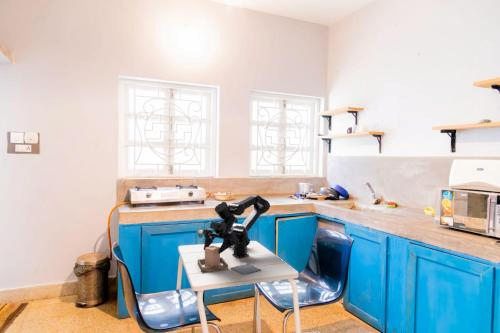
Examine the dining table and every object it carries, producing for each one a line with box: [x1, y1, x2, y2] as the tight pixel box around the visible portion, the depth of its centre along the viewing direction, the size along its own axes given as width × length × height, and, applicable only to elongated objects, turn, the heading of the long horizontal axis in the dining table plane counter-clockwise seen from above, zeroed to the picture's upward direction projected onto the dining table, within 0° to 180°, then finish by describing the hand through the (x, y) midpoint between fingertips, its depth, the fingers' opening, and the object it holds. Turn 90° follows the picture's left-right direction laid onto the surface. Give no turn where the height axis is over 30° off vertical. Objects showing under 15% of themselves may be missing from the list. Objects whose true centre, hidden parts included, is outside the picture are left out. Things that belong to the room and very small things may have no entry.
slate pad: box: [230, 263, 262, 276], centre depth 146 cm, size 10×10×1 cm
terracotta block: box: [204, 245, 221, 267], centre depth 150 cm, size 5×5×9 cm
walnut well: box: [197, 256, 229, 273], centre depth 150 cm, size 12×12×2 cm
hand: (211, 251), depth 149 cm, fingers open, 9 cm apart
